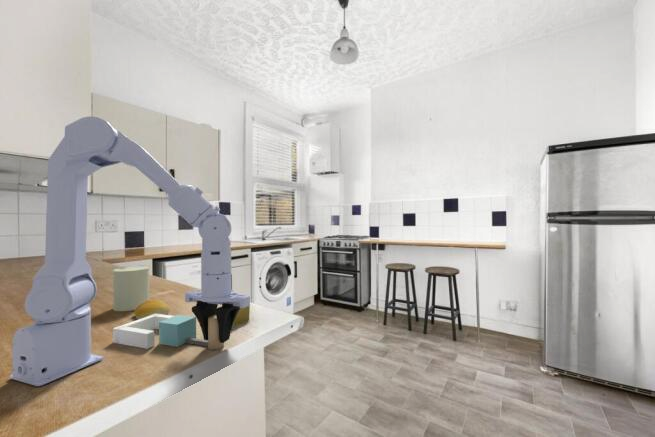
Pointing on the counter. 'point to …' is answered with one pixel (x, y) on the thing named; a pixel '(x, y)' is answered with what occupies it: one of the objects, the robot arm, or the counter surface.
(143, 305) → the bread roll
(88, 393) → the counter surface
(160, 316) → the white u-shaped bracket
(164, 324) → the tethered block
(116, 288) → the can
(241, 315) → the medication box
